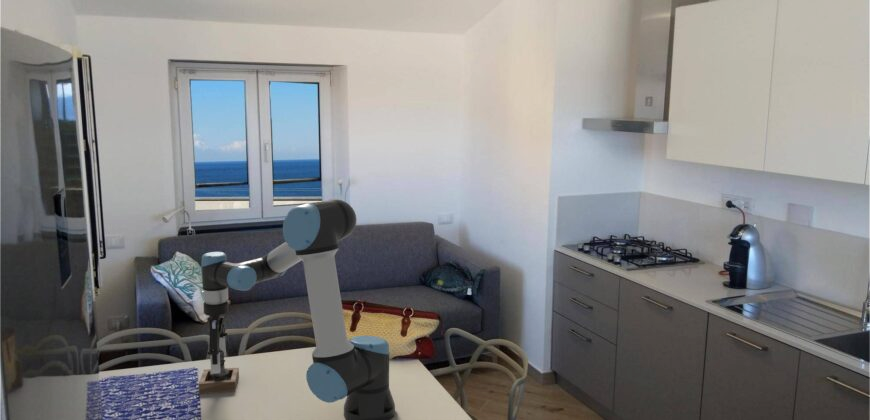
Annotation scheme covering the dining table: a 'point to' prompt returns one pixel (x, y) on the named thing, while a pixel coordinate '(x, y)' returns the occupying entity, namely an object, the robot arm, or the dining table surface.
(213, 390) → the walnut holder
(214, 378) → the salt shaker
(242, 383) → the dining table surface
